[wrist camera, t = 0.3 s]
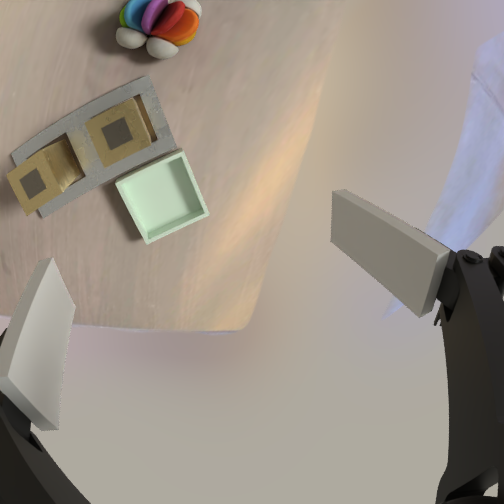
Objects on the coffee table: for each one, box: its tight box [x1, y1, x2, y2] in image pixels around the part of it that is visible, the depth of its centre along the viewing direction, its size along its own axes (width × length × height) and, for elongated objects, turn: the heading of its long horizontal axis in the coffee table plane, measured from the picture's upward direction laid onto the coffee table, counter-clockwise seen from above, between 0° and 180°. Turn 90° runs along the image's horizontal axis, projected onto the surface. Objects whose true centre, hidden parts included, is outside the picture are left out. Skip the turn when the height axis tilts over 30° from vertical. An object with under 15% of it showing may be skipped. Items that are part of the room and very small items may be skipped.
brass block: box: [6, 139, 80, 216], centre depth 26 cm, size 5×5×9 cm
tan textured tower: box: [85, 99, 151, 168], centre depth 27 cm, size 5×5×9 cm
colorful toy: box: [116, 0, 202, 60], centre depth 23 cm, size 8×10×7 cm
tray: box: [115, 148, 210, 244], centre depth 36 cm, size 9×9×2 cm
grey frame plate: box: [11, 75, 177, 218], centre depth 30 cm, size 10×20×1 cm, turn 107°
